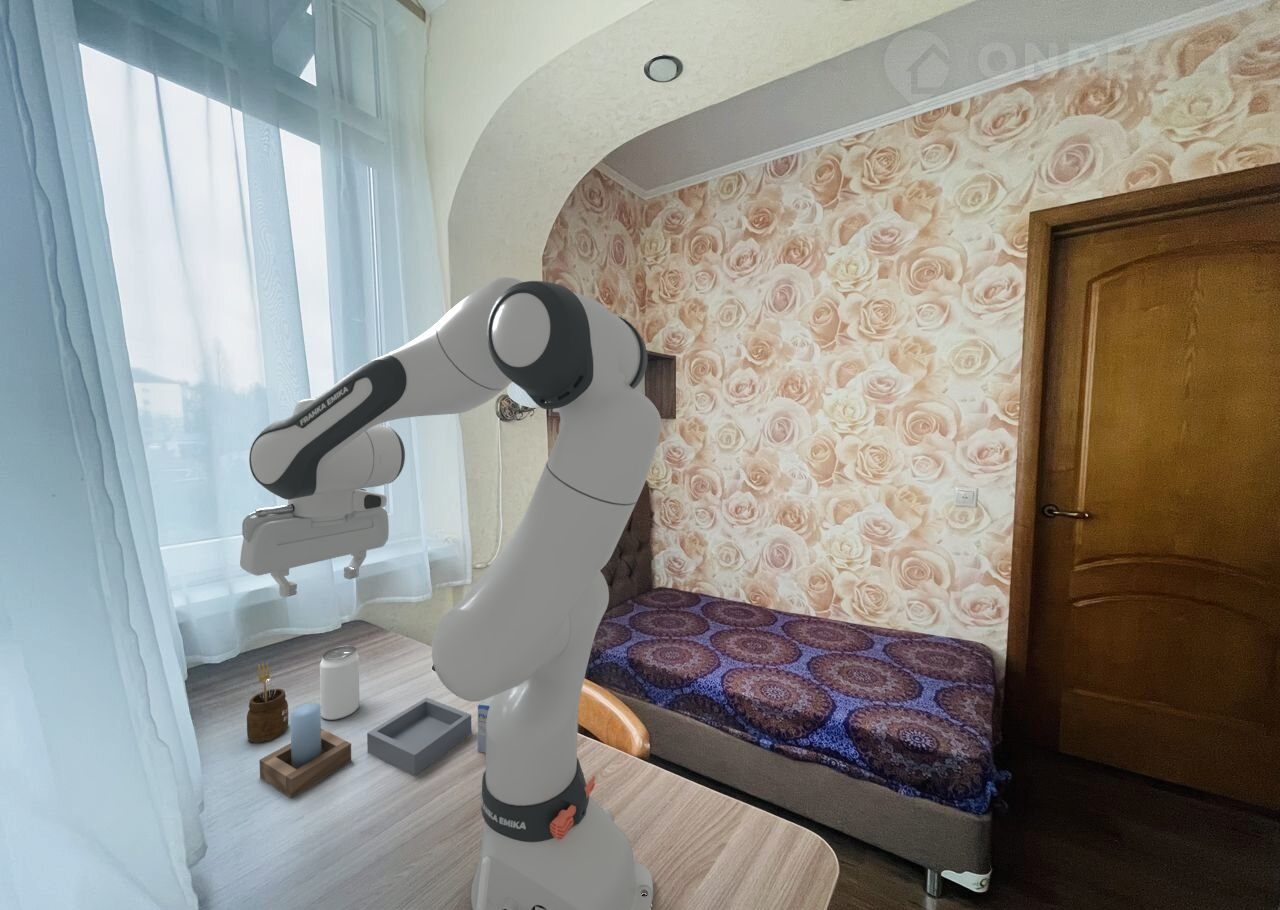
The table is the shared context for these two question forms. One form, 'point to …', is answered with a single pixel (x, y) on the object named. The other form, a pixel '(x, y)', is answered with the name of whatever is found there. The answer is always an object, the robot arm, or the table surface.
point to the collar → (297, 780)
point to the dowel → (305, 734)
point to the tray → (419, 735)
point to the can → (339, 682)
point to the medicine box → (483, 723)
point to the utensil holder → (267, 712)
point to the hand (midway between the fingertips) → (321, 586)
